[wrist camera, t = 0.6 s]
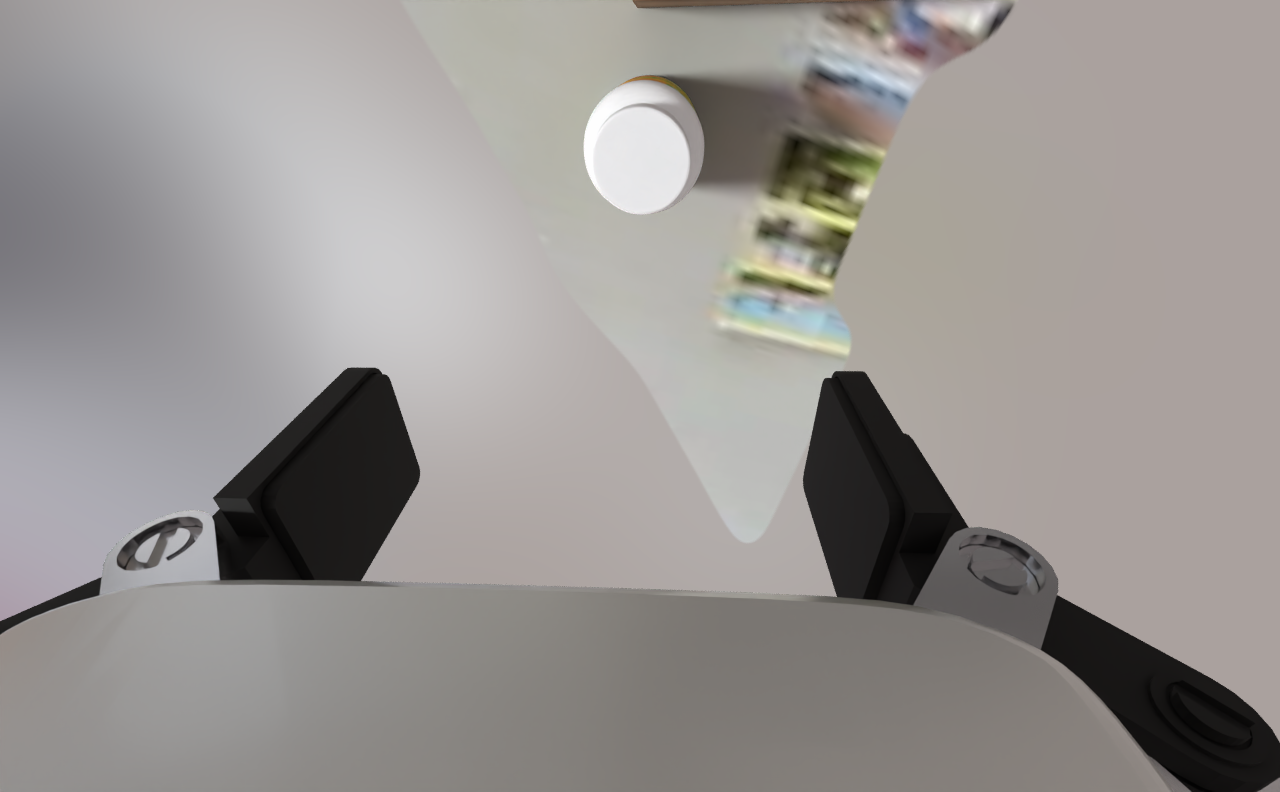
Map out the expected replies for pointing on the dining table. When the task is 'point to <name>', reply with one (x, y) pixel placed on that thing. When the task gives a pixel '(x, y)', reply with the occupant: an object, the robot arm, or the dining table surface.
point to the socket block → (719, 2)
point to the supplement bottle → (644, 145)
